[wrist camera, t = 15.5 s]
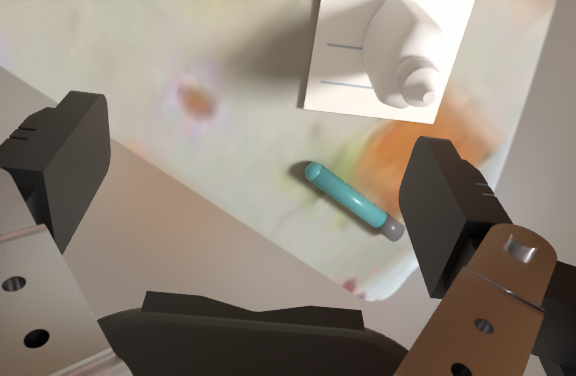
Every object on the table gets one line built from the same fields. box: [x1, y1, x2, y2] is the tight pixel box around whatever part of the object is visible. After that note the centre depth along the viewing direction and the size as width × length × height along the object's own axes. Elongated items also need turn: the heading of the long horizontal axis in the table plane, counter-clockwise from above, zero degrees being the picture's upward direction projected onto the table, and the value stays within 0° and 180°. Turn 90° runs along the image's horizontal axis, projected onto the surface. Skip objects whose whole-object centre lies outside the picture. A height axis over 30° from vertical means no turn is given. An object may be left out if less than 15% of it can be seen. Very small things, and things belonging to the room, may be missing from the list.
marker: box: [304, 162, 404, 241], centre depth 44 cm, size 12×2×2 cm, turn 50°
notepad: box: [304, 0, 475, 124], centre depth 36 cm, size 11×14×1 cm
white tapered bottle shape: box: [362, 0, 444, 109], centre depth 31 cm, size 4×6×12 cm
